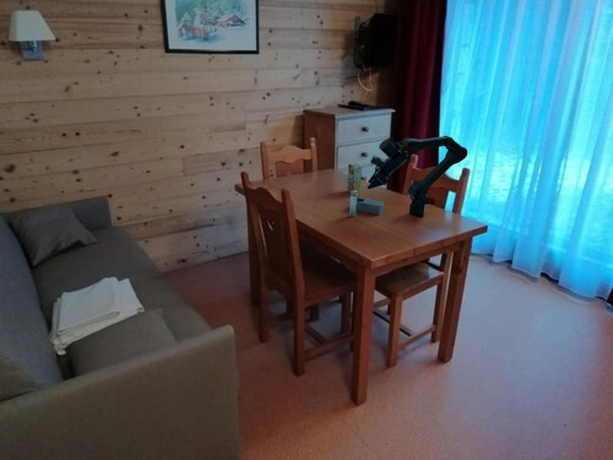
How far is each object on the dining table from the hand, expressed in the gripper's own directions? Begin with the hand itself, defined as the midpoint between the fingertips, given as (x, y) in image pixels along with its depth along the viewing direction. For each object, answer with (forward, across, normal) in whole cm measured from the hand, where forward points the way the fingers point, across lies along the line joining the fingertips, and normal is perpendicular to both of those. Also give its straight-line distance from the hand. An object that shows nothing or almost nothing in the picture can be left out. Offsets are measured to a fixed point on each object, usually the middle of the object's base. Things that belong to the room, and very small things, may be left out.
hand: (368, 185), depth 208 cm
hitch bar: (+10, -4, +9) cm, 14 cm away
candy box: (+16, -31, +4) cm, 35 cm away
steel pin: (+14, +5, +5) cm, 16 cm away
